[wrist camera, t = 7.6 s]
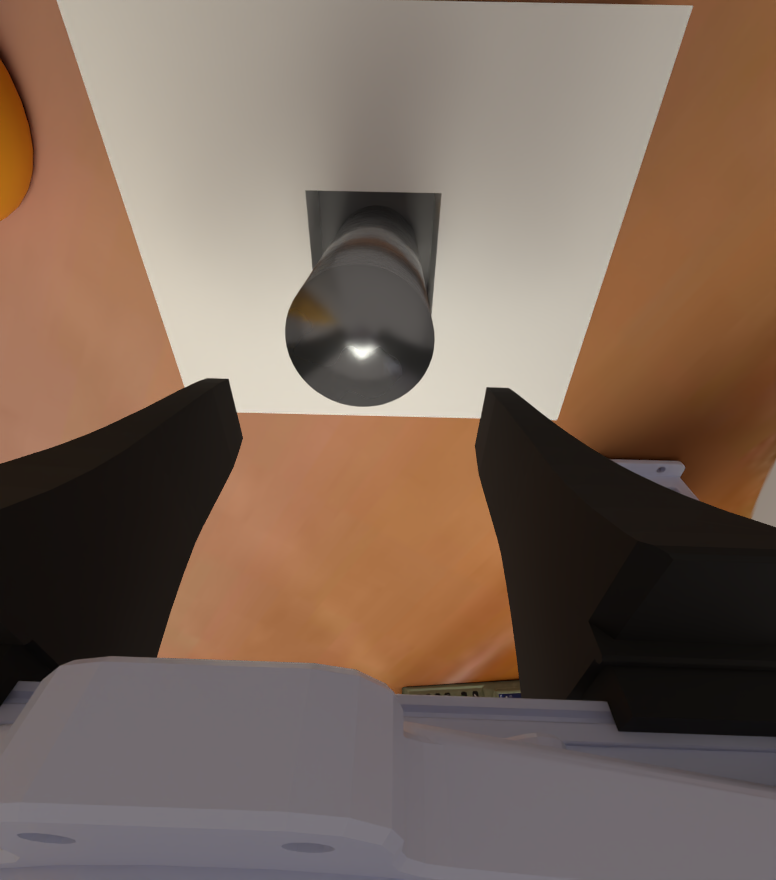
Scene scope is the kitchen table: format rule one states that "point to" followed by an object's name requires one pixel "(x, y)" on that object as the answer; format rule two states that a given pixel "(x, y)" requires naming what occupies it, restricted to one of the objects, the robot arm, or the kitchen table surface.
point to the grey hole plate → (377, 171)
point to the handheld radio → (470, 689)
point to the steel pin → (363, 314)
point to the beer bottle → (13, 147)
